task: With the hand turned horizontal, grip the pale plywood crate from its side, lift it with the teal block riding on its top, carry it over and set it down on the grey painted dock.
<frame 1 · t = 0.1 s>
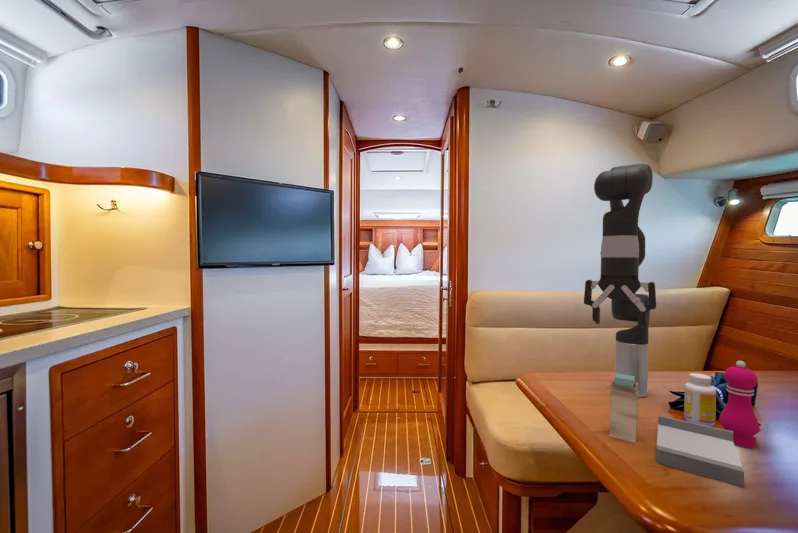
hand: (618, 325, 84), 29 cm above the table, tool pointing down, fingers open, 8 cm apart
supplement bottle: (699, 422, 100), on the table
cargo: (624, 388, 91), point 12 cm above the table, touching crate
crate: (623, 435, 91), on the table, touching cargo
dock: (695, 457, 81), on the table
pepper mill: (738, 442, 89), on the table
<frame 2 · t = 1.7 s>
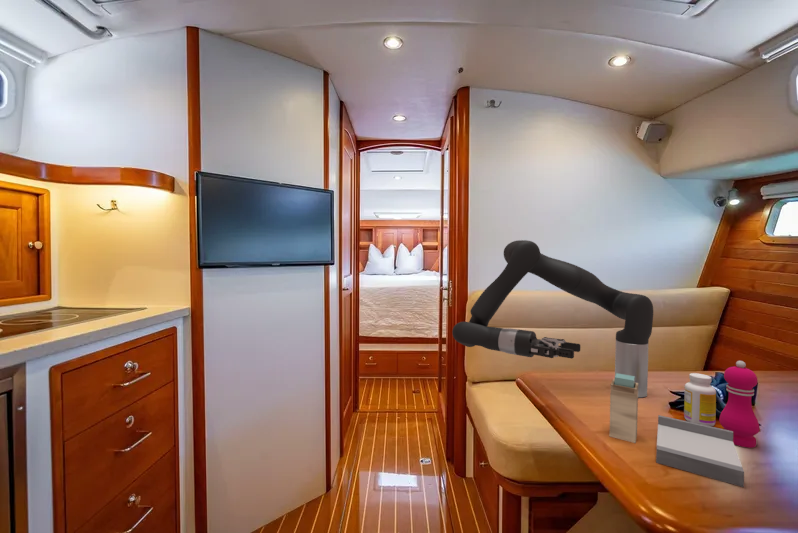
hand: (577, 351, 98), 20 cm above the table, tool horizontal, fingers open, 8 cm apart
nothing on the table moved.
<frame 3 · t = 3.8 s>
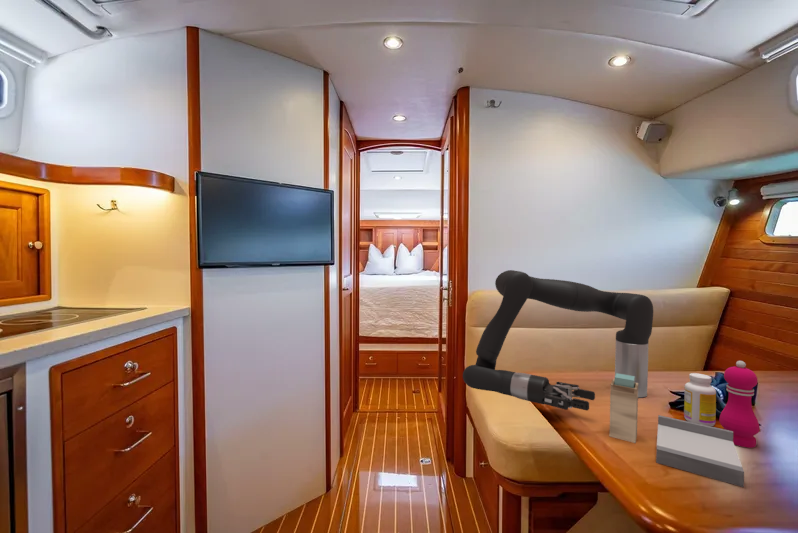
hand: (591, 401, 96), 7 cm above the table, tool horizontal, fingers open, 8 cm apart
nothing on the table moved.
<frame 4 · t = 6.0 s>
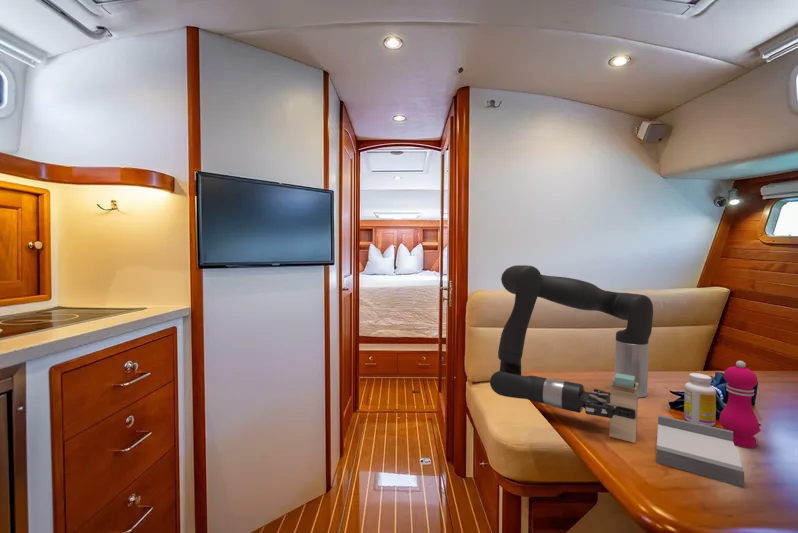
hand: (635, 410, 90), 7 cm above the table, tool horizontal, fingers closed on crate, 5 cm apart
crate: (623, 435, 91), on the table, touching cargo, gripper
everything else where it was.
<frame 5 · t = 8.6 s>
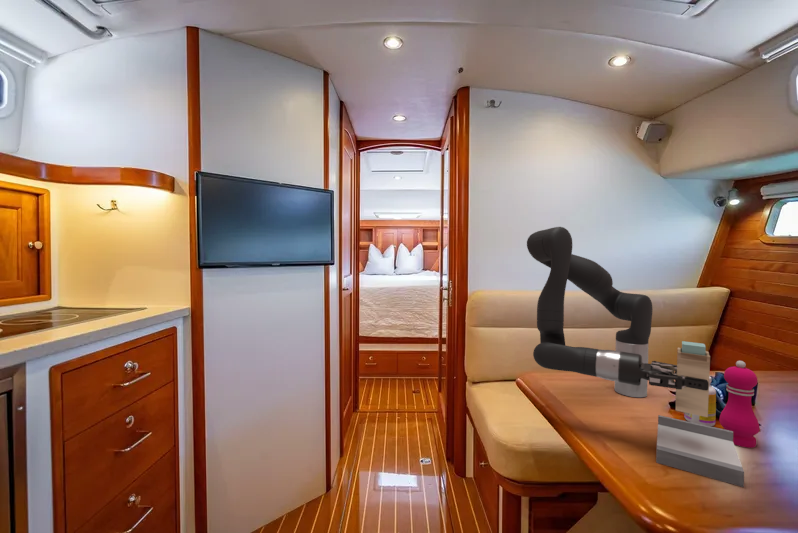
hand: (706, 381, 80), 18 cm above the table, tool horizontal, fingers closed on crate, 5 cm apart
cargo: (692, 357, 81), point 23 cm above the table, touching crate
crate: (690, 409, 82), point 11 cm above the table, touching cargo, gripper
everything else where it was.
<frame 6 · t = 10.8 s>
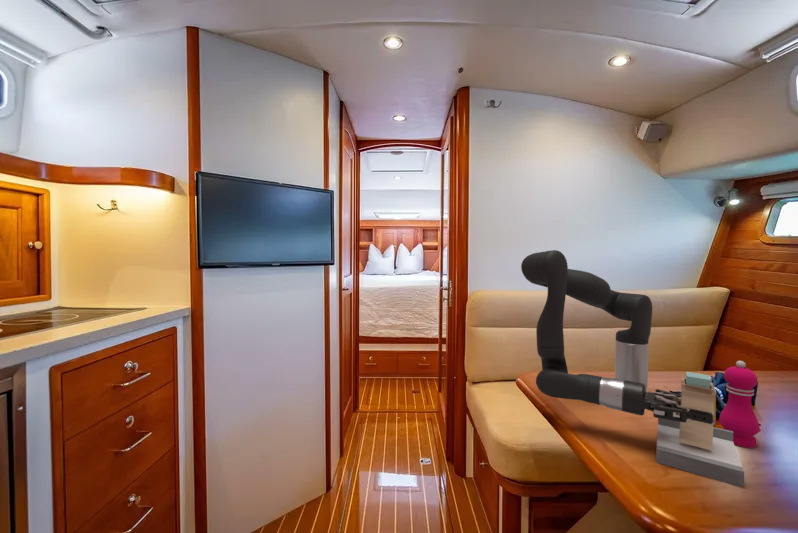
hand: (711, 413, 80), 11 cm above the table, tool horizontal, fingers closed on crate, 5 cm apart
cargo: (697, 388, 81), point 16 cm above the table, touching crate
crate: (695, 441, 81), point 4 cm above the table, touching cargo, gripper
everything else where it was.
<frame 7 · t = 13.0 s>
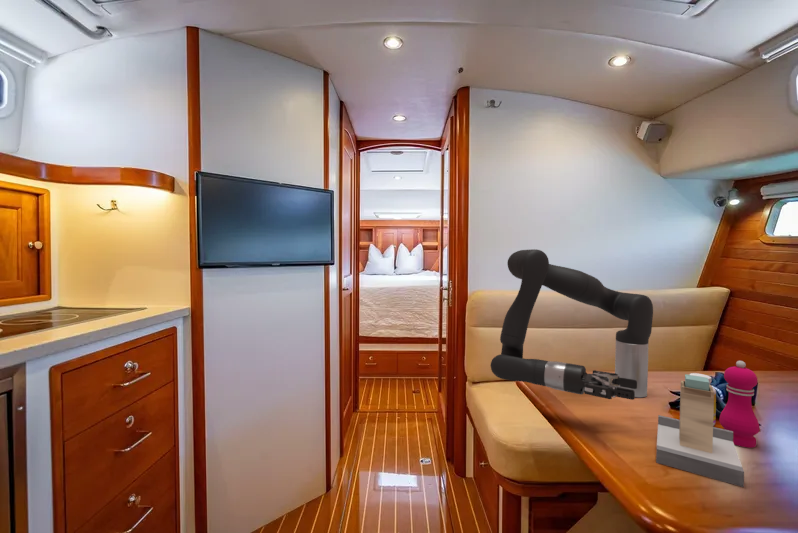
hand: (635, 389, 89), 13 cm above the table, tool horizontal, fingers open, 8 cm apart
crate: (695, 444, 81), point 3 cm above the table, touching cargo, dock
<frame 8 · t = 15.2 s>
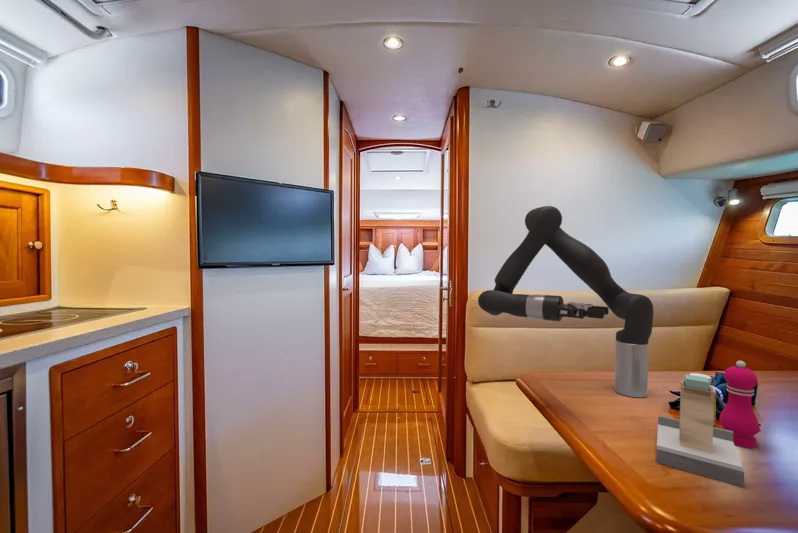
hand: (606, 312, 99), 30 cm above the table, tool horizontal, fingers open, 8 cm apart
nothing on the table moved.
at the end: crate inside the target area on the dock (0.1 cm from its centre), point 3.0 cm above the dock's base; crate tilted 0°; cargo 0.0 cm off-centre on the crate, point 12.0 cm above the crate's base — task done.
